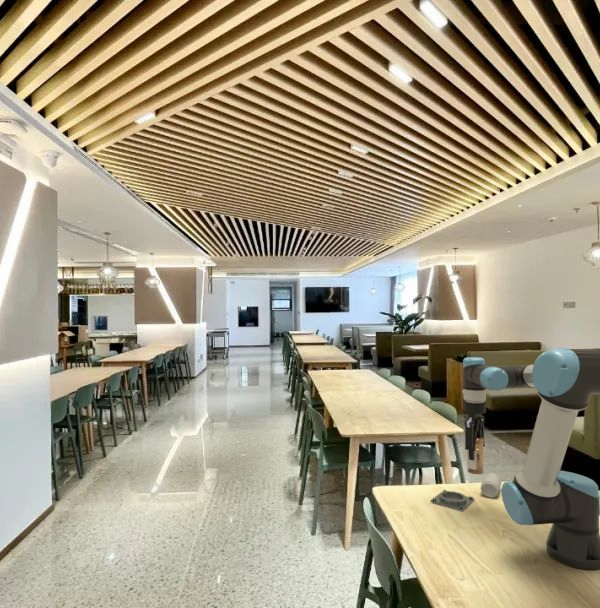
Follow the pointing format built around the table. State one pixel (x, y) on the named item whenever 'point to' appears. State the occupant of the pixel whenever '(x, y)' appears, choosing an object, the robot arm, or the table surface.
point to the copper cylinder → (477, 456)
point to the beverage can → (491, 485)
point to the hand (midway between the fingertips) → (475, 466)
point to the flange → (453, 500)
